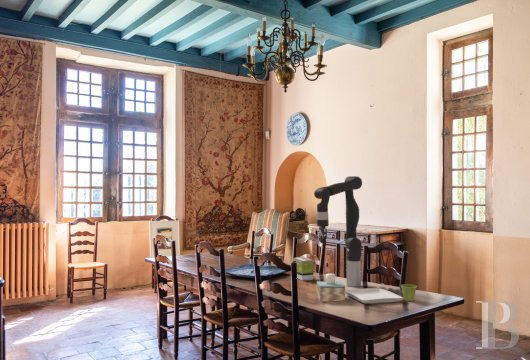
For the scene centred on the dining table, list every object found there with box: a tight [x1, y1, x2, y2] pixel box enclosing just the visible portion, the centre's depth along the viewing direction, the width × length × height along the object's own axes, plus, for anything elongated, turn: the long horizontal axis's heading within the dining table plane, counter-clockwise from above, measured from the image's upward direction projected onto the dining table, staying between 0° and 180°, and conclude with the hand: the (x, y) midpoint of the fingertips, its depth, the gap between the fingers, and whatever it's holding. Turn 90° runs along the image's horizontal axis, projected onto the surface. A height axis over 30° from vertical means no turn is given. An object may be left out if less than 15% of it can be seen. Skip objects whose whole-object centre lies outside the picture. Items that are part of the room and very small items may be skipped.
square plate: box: [345, 287, 404, 305], centre depth 283 cm, size 27×27×4 cm
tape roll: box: [325, 273, 336, 284], centre depth 282 cm, size 6×6×6 cm
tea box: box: [292, 256, 314, 282], centre depth 346 cm, size 15×10×15 cm
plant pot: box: [400, 283, 418, 302], centre depth 279 cm, size 9×9×9 cm
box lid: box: [316, 280, 346, 288], centre depth 282 cm, size 15×13×1 cm
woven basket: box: [316, 283, 346, 303], centre depth 282 cm, size 15×13×8 cm
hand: (323, 243), depth 302 cm, fingers open, 8 cm apart
